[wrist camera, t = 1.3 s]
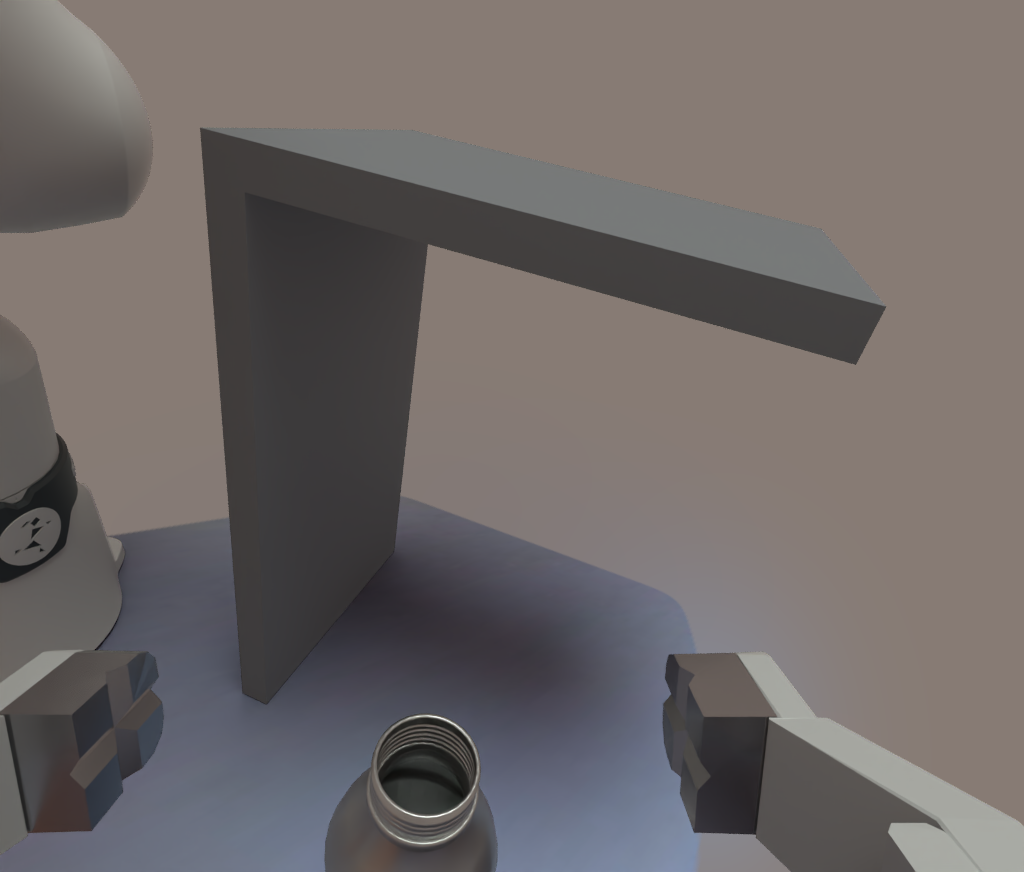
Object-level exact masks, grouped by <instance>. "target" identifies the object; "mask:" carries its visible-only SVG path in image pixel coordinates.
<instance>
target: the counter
mask: <svg viewBox="0 0 1024 872" xmlns="http://www.w3.org/2000/svg"><path fill="white" fill-rule="evenodd" d="M200 132H201V145H202V159H203V171H204V185H205V199H206V212H207V224H208V237H209V238H208V239H209V251H210V265H211V279H212V291H213V305H214V319H215V331H216V345H217V358H218V371H219V384H220V398H221V411H222V425H223V438H224V451H225V465H226V477H227V491H228V505H229V518H230V532H231V545H232V558H233V572H234V585H235V598H236V612H237V625H238V638H239V652H240V665H241V678H242V692H243V693H244V694H246V695H248V696H250V697H252V698H254V699H256V700H259V701H261V702H263V703H265V704H267V703H268V702H269V701H270V700H271V698H272V697H273V696H274V695H275V694H276V692H277V691H278V690H279V689H280V688H281V686H282V685H283V684H284V683H285V682H286V680H287V679H288V678H289V677H290V676H291V674H292V673H293V672H294V671H295V670H296V668H297V667H298V666H299V665H300V664H301V662H302V661H303V660H304V659H305V658H306V656H307V655H308V654H309V653H310V652H311V650H312V649H313V648H314V647H315V646H316V644H317V643H318V642H319V641H320V640H321V638H322V637H323V636H324V635H325V634H326V632H327V631H328V630H329V629H330V628H331V626H332V625H333V624H334V623H335V622H336V620H337V619H338V618H339V617H340V616H341V614H342V613H343V612H344V611H345V610H346V608H347V607H348V606H349V605H350V604H351V602H352V601H353V600H354V599H355V598H356V596H357V595H358V594H359V593H360V592H361V590H362V589H363V588H364V587H365V586H366V584H367V583H368V582H369V581H370V580H371V578H372V577H373V576H374V575H375V574H376V572H377V571H378V570H379V569H380V568H381V566H382V565H383V564H384V563H385V562H386V560H387V559H388V558H389V557H390V556H391V554H392V553H393V552H394V547H395V538H396V529H397V520H398V511H399V502H400V492H401V484H402V475H403V465H404V456H405V447H406V437H407V429H408V420H409V410H410V402H411V393H412V383H413V374H414V365H415V356H416V346H417V338H418V329H419V320H420V311H421V301H422V292H423V283H424V282H423V281H424V273H425V265H426V256H427V247H428V244H430V245H433V246H437V247H440V248H444V249H447V250H451V251H454V252H458V253H462V254H465V255H469V256H473V257H476V258H479V259H483V260H487V261H490V262H494V263H497V264H501V265H504V266H508V267H511V268H515V269H518V270H522V271H526V272H529V273H533V274H536V275H540V276H543V277H547V278H550V279H554V280H557V281H561V282H564V283H568V284H571V285H575V286H579V287H582V288H586V289H589V290H593V291H596V292H600V293H603V294H607V295H610V296H614V297H618V298H621V299H625V300H628V301H632V302H635V303H639V304H642V305H646V306H649V307H653V308H656V309H660V310H664V311H668V312H671V313H674V314H678V315H681V316H685V317H688V318H692V319H695V320H699V321H703V322H706V323H710V324H713V325H717V326H721V327H724V328H727V329H731V330H734V331H738V332H742V333H745V334H749V335H752V336H756V337H760V338H763V339H766V340H770V341H773V342H777V343H781V344H784V345H788V346H791V347H795V348H799V349H802V350H805V351H809V352H812V353H816V354H820V355H823V356H827V357H830V358H834V359H837V360H841V361H845V362H848V363H851V364H855V365H856V363H857V362H858V360H859V358H860V356H861V354H862V352H863V350H864V348H865V346H866V344H867V342H868V340H869V338H870V337H871V335H872V333H873V331H874V329H875V327H876V325H877V323H878V322H879V320H880V318H881V316H882V314H883V312H884V310H885V308H886V306H885V304H883V302H882V301H881V300H880V299H879V297H878V296H877V295H876V294H875V293H874V292H873V290H872V289H871V288H870V287H869V285H868V284H867V283H866V282H865V281H864V279H863V278H862V277H861V276H860V275H859V274H858V272H857V271H856V270H855V269H854V268H853V267H852V265H851V264H850V263H849V262H848V260H847V259H846V258H845V257H844V256H843V254H842V253H841V252H840V251H839V250H838V249H837V247H836V246H835V245H834V244H833V243H832V241H831V240H830V239H829V238H828V237H827V236H826V234H825V233H824V232H823V231H822V229H820V228H816V227H812V226H807V225H803V224H799V223H795V222H791V221H787V220H782V219H778V218H774V217H770V216H766V215H762V214H758V213H753V212H749V211H745V210H741V209H737V208H733V207H729V206H725V205H720V204H716V203H712V202H708V201H704V200H700V199H696V198H691V197H687V196H683V195H679V194H675V193H670V192H666V191H662V190H658V189H654V188H650V187H646V186H641V185H637V184H633V183H629V182H625V181H621V180H617V179H613V178H608V177H604V176H600V175H596V174H592V173H587V172H584V171H579V170H575V169H571V168H567V167H563V166H559V165H554V164H550V163H546V162H542V161H538V160H534V159H530V158H525V157H521V156H517V155H512V154H509V153H504V152H501V151H496V150H492V149H488V148H484V147H480V146H476V145H472V144H467V143H463V142H459V141H455V140H451V139H447V138H442V137H438V136H434V135H430V134H426V133H422V132H418V131H413V130H356V129H355V130H353V129H352V130H351V129H271V128H268V129H267V128H200Z"/></svg>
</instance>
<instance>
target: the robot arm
mask: <svg viewBox="0 0 1024 872" xmlns="http://www.w3.org/2000/svg"><path fill="white" fill-rule="evenodd" d="M152 141H153V140H152V132H151V126H150V122H149V118H148V115H147V111H146V108H145V105H144V103H143V100H142V98H141V96H140V93H139V91H138V89H137V87H136V85H135V83H134V82H133V80H132V78H131V77H130V75H129V73H128V72H127V70H126V69H125V67H124V66H123V65H122V64H121V62H120V60H119V59H118V58H117V56H116V55H115V54H114V53H113V52H112V50H111V49H110V48H109V47H108V46H107V45H106V44H105V42H104V41H103V40H102V39H101V38H100V37H99V36H98V35H96V34H95V33H94V32H93V31H92V30H91V29H90V28H89V27H88V26H86V25H85V24H84V23H83V22H82V21H80V20H79V19H78V18H77V17H75V16H74V15H73V14H72V13H71V12H70V11H68V10H67V9H66V8H65V7H64V6H63V5H62V4H61V3H60V2H59V1H58V0H0V233H34V232H40V231H46V230H53V229H59V228H65V227H71V226H78V225H83V224H89V223H94V222H99V221H104V220H109V219H114V218H120V217H122V216H124V215H125V214H126V213H127V212H128V211H129V210H130V209H131V208H132V207H133V205H134V204H135V203H136V201H137V200H138V199H139V197H140V195H141V193H142V192H143V190H144V187H145V186H146V183H147V180H148V177H149V174H150V169H151V164H152V156H153V142H152ZM75 476H76V473H75V466H74V463H73V459H72V458H71V455H70V453H69V452H68V449H67V446H66V444H65V442H64V440H63V439H62V438H61V436H59V435H58V434H57V433H56V432H55V429H54V424H53V420H52V416H51V412H50V407H49V404H48V399H47V395H46V391H45V387H44V383H43V378H42V374H41V371H40V366H39V362H38V358H37V354H36V351H35V349H34V348H33V346H32V344H31V342H30V341H29V339H28V338H27V337H26V336H25V334H24V333H23V332H22V331H20V329H19V328H18V327H17V326H16V325H14V324H13V323H12V322H10V321H9V320H8V319H6V318H5V317H3V316H2V315H0V855H1V854H3V853H4V852H5V851H7V850H8V849H10V848H11V847H13V846H14V845H16V844H17V843H19V842H20V841H21V840H23V839H24V838H26V837H27V836H28V833H40V832H75V831H92V830H93V829H94V827H95V826H96V825H97V824H98V822H99V821H100V820H101V819H102V817H103V816H104V815H105V814H106V813H107V811H108V810H109V809H110V808H111V806H112V805H113V804H114V803H115V801H116V800H117V799H118V798H119V797H120V795H121V794H122V793H123V785H122V780H123V779H125V778H126V777H128V776H130V775H132V774H133V773H135V772H137V771H138V770H140V769H142V768H143V767H144V765H145V764H146V763H147V761H148V760H149V759H150V757H151V756H152V755H153V754H154V752H155V749H156V747H157V744H158V742H159V739H160V737H161V734H162V728H163V719H164V714H163V706H162V702H161V700H160V699H159V698H158V697H157V696H156V695H155V694H154V693H153V691H152V690H151V688H152V686H153V685H154V683H155V682H156V680H157V679H158V677H159V676H158V670H157V664H156V659H155V657H154V656H152V655H151V654H150V653H149V652H145V651H104V650H95V649H96V648H97V647H98V646H99V645H100V643H101V642H102V641H103V640H104V639H105V638H106V636H107V635H108V634H109V632H110V631H111V629H112V628H113V626H114V624H115V622H116V620H117V618H118V616H119V613H120V610H121V605H122V591H121V587H120V584H119V580H118V571H119V569H120V567H121V565H122V562H123V560H124V556H125V550H124V548H123V545H122V543H121V541H120V540H118V539H115V538H112V537H108V536H107V535H106V532H105V529H104V526H103V523H102V521H101V518H100V515H99V512H98V510H97V507H96V504H95V501H94V499H93V496H92V493H91V491H90V490H89V488H88V486H87V485H85V484H83V483H79V482H77V481H76V478H75ZM665 680H666V682H667V684H668V687H669V689H670V692H671V695H670V696H669V698H668V699H667V700H666V701H665V702H664V704H663V734H664V744H665V748H666V753H667V757H668V760H669V763H670V766H671V769H672V770H673V771H674V772H675V773H677V774H678V775H679V776H680V777H681V788H680V795H681V797H682V800H683V803H684V806H685V808H686V811H687V814H688V817H689V819H690V822H691V825H692V828H693V831H694V833H727V834H755V835H756V838H757V839H758V840H759V841H760V842H761V843H762V844H763V845H764V846H765V847H766V848H767V849H768V850H769V851H770V852H771V853H772V854H773V855H774V856H775V857H776V858H777V859H778V860H779V861H780V862H782V863H783V864H784V865H785V866H786V867H787V868H788V869H789V870H790V871H791V872H1024V826H1023V825H1022V824H1021V823H1020V822H1019V821H1017V820H1015V819H1013V818H1012V817H1010V816H1008V815H1006V814H1004V813H1002V812H1000V811H999V810H997V809H995V808H993V807H991V806H989V805H988V804H986V803H984V802H982V801H980V800H978V799H977V798H975V797H973V796H971V795H969V794H967V793H965V792H964V791H962V790H960V789H958V788H956V787H954V786H953V785H951V784H949V783H947V782H945V781H943V780H941V779H940V778H938V777H936V776H934V775H932V774H930V773H928V772H927V771H925V770H923V769H921V768H919V767H917V766H915V765H914V764H912V763H910V762H908V761H906V760H904V759H903V758H901V757H899V756H897V755H895V754H893V753H891V752H889V751H888V750H886V749H884V748H882V747H880V746H879V745H877V744H875V743H873V742H871V741H869V740H867V739H866V738H863V737H862V736H860V735H858V734H856V733H855V732H853V731H851V730H849V729H847V728H845V727H843V726H842V725H840V724H838V723H836V722H834V721H832V720H830V719H829V718H817V717H816V715H815V714H814V713H813V711H812V710H811V709H810V708H809V706H808V705H807V704H806V702H805V701H804V700H803V698H802V697H801V696H800V695H799V693H798V692H797V691H796V690H795V688H794V687H793V685H792V684H791V683H790V681H789V680H788V679H787V678H786V676H785V675H784V674H783V672H782V671H781V670H780V668H779V667H778V666H777V665H776V663H775V662H774V661H773V659H772V658H771V657H770V655H768V654H766V653H764V652H743V653H713V654H712V653H710V654H670V655H668V659H667V663H666V673H665Z"/></svg>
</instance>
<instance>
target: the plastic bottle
mask: <svg viewBox="0 0 1024 872" xmlns="http://www.w3.org/2000/svg"><path fill="white" fill-rule="evenodd" d="M480 772H481V766H480V758H479V753H478V750H477V748H476V745H475V743H474V742H473V740H472V738H471V737H470V735H469V734H468V733H467V732H466V731H465V730H464V729H463V728H462V727H461V726H460V725H458V724H457V723H456V722H454V721H452V720H450V719H448V718H446V717H443V716H440V715H435V714H416V715H411V716H408V717H405V718H403V719H401V720H399V721H397V722H396V723H394V724H393V725H391V726H390V727H389V728H388V729H387V730H386V731H385V732H384V734H383V735H382V737H381V738H380V740H379V741H378V743H377V746H376V748H375V751H374V753H373V757H372V763H371V767H370V768H369V769H368V770H366V771H365V772H364V773H363V774H362V775H361V776H360V777H359V778H358V779H357V780H356V781H355V782H354V783H353V784H352V785H351V787H350V788H349V789H348V791H347V792H346V794H345V795H344V797H343V798H342V800H341V801H340V803H339V804H338V806H337V807H336V810H335V812H334V814H333V817H332V819H331V821H330V824H329V828H328V832H327V837H326V841H325V872H495V871H496V866H497V846H498V843H497V837H496V831H495V825H494V820H493V816H492V813H491V810H490V807H489V804H488V802H487V799H486V798H485V796H484V794H483V792H482V791H481V789H480V787H479V781H480Z"/></svg>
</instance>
